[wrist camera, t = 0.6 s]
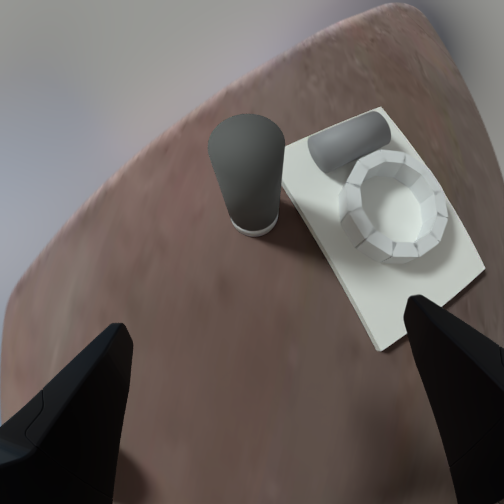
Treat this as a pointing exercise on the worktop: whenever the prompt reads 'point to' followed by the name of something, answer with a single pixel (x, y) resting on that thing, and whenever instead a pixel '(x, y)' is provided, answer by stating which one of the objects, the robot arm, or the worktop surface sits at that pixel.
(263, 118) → the crank handle
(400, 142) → the white socket base plate
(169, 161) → the worktop surface
